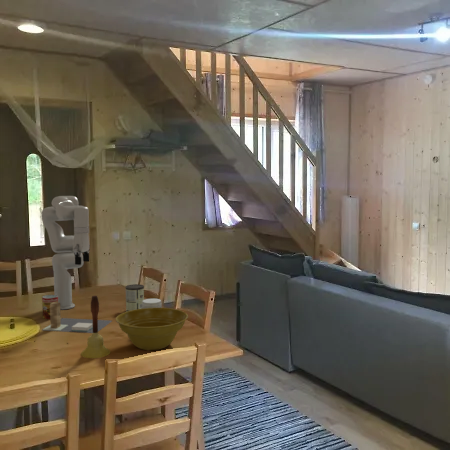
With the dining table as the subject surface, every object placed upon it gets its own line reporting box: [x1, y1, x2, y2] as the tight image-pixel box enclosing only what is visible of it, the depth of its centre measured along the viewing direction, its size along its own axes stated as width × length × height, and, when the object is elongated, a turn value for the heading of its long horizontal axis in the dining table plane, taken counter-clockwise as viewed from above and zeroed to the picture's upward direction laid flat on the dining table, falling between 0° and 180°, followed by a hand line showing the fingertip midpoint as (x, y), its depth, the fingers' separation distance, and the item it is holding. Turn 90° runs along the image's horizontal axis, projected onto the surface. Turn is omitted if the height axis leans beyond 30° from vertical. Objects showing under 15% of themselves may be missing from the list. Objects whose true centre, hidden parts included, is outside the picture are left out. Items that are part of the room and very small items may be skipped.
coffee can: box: [125, 283, 145, 312], centre depth 289 cm, size 10×10×14 cm
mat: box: [42, 317, 113, 334], centre depth 258 cm, size 28×22×1 cm
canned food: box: [41, 294, 58, 320], centre depth 272 cm, size 8×8×12 cm
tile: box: [72, 323, 93, 332], centre depth 252 cm, size 8×2×7 cm
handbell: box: [80, 295, 111, 359], centre depth 219 cm, size 12×12×25 cm
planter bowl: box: [115, 307, 189, 351], centre depth 230 cm, size 32×32×13 cm
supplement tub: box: [142, 298, 163, 309], centre depth 254 cm, size 10×10×15 cm
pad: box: [42, 324, 68, 332], centre depth 253 cm, size 9×9×1 cm
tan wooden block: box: [49, 302, 62, 328], centre depth 253 cm, size 4×4×12 cm
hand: (82, 262), depth 268 cm, fingers open, 9 cm apart
